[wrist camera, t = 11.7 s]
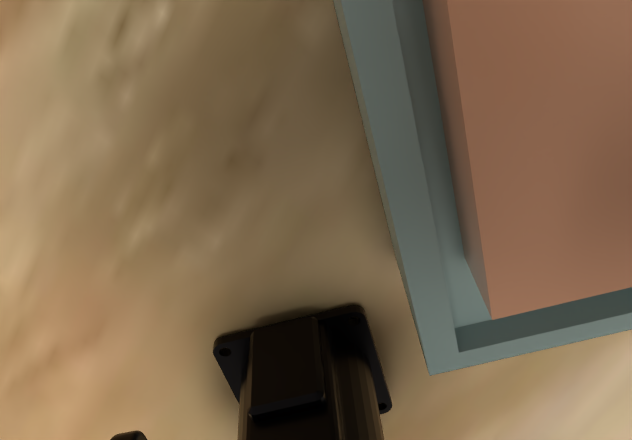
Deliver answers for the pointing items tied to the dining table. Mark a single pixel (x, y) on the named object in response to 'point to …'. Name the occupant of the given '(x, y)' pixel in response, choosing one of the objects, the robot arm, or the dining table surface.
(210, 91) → the dining table surface
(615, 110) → the salmon orange rectangular block
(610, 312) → the jig
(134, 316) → the dining table surface
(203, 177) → the dining table surface
